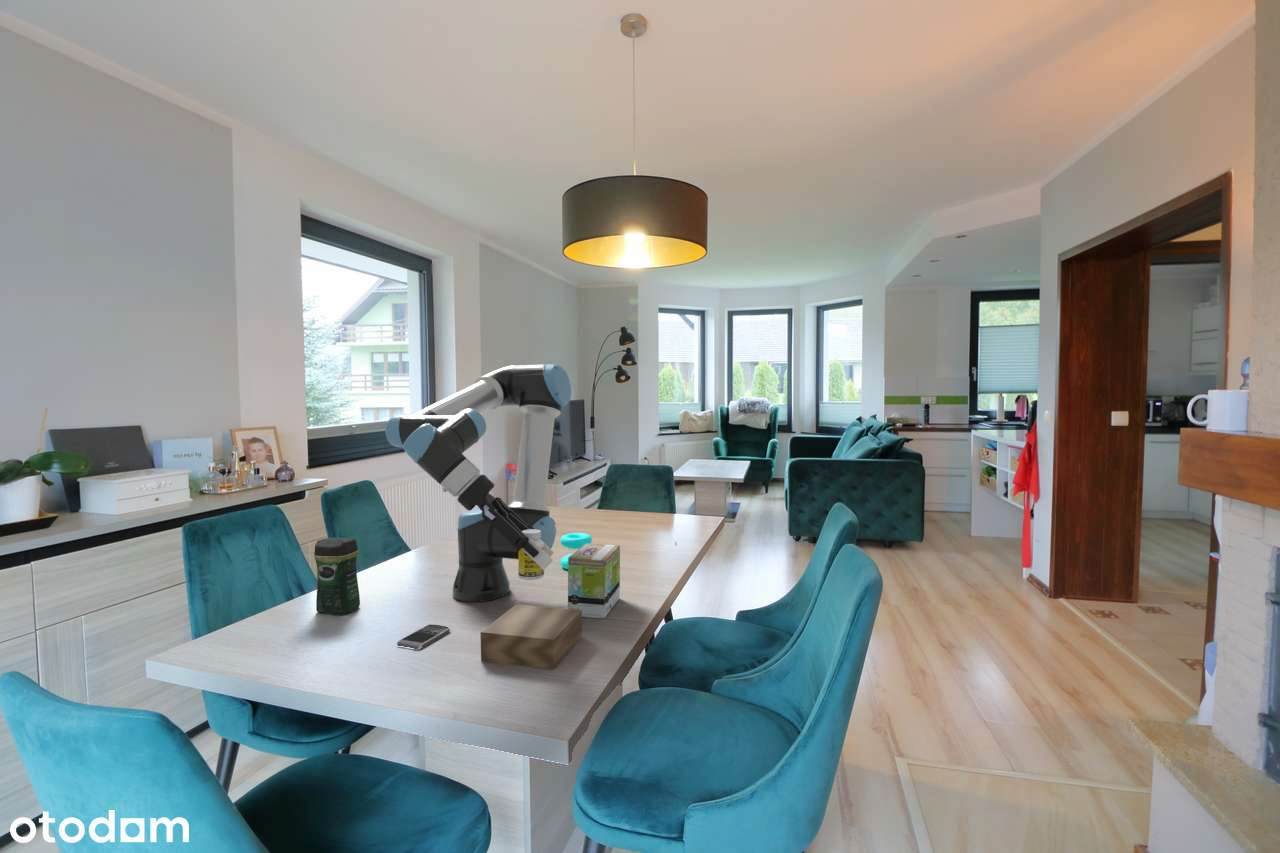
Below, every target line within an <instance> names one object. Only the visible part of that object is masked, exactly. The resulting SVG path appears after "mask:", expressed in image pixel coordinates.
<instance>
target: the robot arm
mask: <svg viewBox="0 0 1280 853" xmlns="http://www.w3.org/2000/svg"><path fill="white" fill-rule="evenodd" d="M571 396H572V387H571V381H570V378H569V375H568V373H567V371H566V370H565V368H564V367H563V366H561V365H559V364H553V363H552V364H551V363H550V364H549V363H544V364H543V363H542V364H541V363H540V364H537V363H536V364H512V365H508V366H504V367H501V368H499V369H495V370H493V371H491V372H489V373H487V374H484V375H482V376H480V377H478V378H477V379H476V380H474V382H473V384H472V385H470V386H467V387H465V388H463V389H462V390H460V391H457V392H456V393H453V394H451V395H450V396H447V397H445V398H443V399H441V400H439V401H436V402H435V403H433V404H431V405H428V406H427V407H424V408H422V409H420V410H419V411H418V410H417V411H415V412H413V413H412V414H407V415H406V414H398V415H394V416H392V417H391V418H389V420H388V421H387V423H386V425H385V431H384V432H385V436H386V440H387V441H388V443H389V444H390V445H391V446H393V447H396V448H402V449H403V451H404V452H405V453H406V454H407V455H408V456H409V458H411V459H412V460H413V462H414V463H415V464H417V466H419V468H421V469H422V470H423V471H424V472H426V473H427V474H428V475H429V477H431V478H432V479H433V480H435V481H436V482H437V483H438V484H439V485H441V487H442V490H441V491H442V492H443V493H446V492H447V493H448V494H450V496H452V497H454V498H455V497H457V499H456V500H457V502H458V503H459V505H461V506H462V507H464V509H466V511H464V512H463V513H461V514H460V515H459V516H458V522H457V530H456V531H457V540H458V541H457V542H458V544H457V546H458V548H457V549H458V569H457V572H456V576H455V579H454V582H453V585H452V597H453V598H454V599H455V600H457V601H461V602H468V603H469V602H471V603H477V602H487V601H492V600H493V601H494V600H496V599H499V598H503V597H505V596H506V595H507V594H508V593H510V590H511V589H510V588H511V587H510V580H509V577H508V574H507V572H506V569H505V566H504V561H503V559H509V560H518V561H519V554H518V551H519V550H520V549H522V550H523V551H524V552H525V553H526V554H527V555H528V556H529V557H530V558H531V559H532V560H533V561H535V562H536V563H537V564H538V565H539V566H540V567H541V568H542V569H543V570H544V571H545V570H546V569H547V568H548V566H550V564H552V562H553V561H554V559H553V558H552V556H553V555H554V553H555V551H553V550H552V548H553V546H554V543H555V541H556V540H555V539H556V534H557V527H556V522H555V519H553V517H551V516H550V509H549V508H548V507H547V505H546V496H547V489H548V488H547V487H548V482H549V470H550V463H551V462H550V461H551V453H552V442H553V435H554V427H555V419H556V418H557V417H559V416H560V415H561V413H562V407H564V406H566V405H568V404H569V403H570V401H571V398H572V397H571ZM503 406H505V407H506V406H518V409H519V411H520V412H521V413H522V415H523V418H522V426H521V434H520V439H519V440H520V441H519V442H520V443H519V451H518V458H517V467H516V471H515V472H516V473H515V481H514V489H513V496H512V500H511V503H509V504H508V505H507V504H506V502H504V501H503V500H502V498H501V497H499V496H498V497H494V496H493V495H492V494H491V493H490V492H491V491H492V490H493V489H494V488H495V483H494V482H493V481H491V480H490V479H489V478H488V477H487V476H486V475H485V474H480V473H481V470H480V469H479V468H478V467H477V466H476V465H475V464H474V463H473V462H471V460H470V459H468V457H466V456H465V455H464V453H465V451H467V450H469V449H470V448H471V447H472V446H473V445H475V444H477V443H478V442H479V440H480V439H481V438H482V437H483V436H484V435H485V433H486V431H487V423H486V419H485V418H484V417H483V415H482V414H481V413H484V411H486V410H496V409H497V408H500V407H503ZM476 506H477V507H478V508H477V509H475V507H476ZM528 529H537V530H540V531H541V538H540V540H541V541H543V542H544V551H543V550H542V549H541V548H540V547H539V546H538V545H537V544H536V543H535V542H534V541H533V540H532V539H530V540H529V538H528V537H526V536H525V534H524V533H523V532H522V531H524V530H528Z"/></svg>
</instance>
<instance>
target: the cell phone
mask: <svg viewBox="0 0 1280 853" xmlns="http://www.w3.org/2000/svg"><path fill="white" fill-rule="evenodd" d="M450 630H451V628H450V627H449V626H445V625H440V624H428V625H424V626H423V627H421V628H420V629H418V630H416V631H414V632H412V633H410V634H409V635H406V636H405V637H403V638H401V639H400V640H398V641H397V643H396V646H397V645H398V646H404V647H410V648H414V649H419V648H421V647H423V646H425V645H426V646H428V645H430V644H431V643H433V642H435V641H436V639H437V640H439V639H440V638H441V636H442V637H444V636H445V635H446V633H447V634H448V633H450ZM439 637H440V638H439ZM434 640H435V641H434ZM432 641H433V642H432ZM430 642H431V643H430ZM429 643H430V644H429ZM427 644H428V645H427ZM398 646H397V647H398ZM426 646H425V647H426ZM423 648H424V647H423ZM421 649H422V648H421ZM419 650H420V649H419Z"/></svg>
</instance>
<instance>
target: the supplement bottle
mask: <svg viewBox="0 0 1280 853" xmlns="http://www.w3.org/2000/svg"><path fill="white" fill-rule="evenodd" d="M522 532H523V533H524V534H525V536H526V537H528V538H529V540H530V539H532V540H533V541H534V542H535V543H536V544H537V545H538V546H539V547H540V548H541V549H542V550H543V551H544V542H543V541H541V540H540V538H541V531H540V530H537V529H528V530H524V531H522ZM518 554H519V560H518V566H517V567H518V568H517V569H518V578H519V579H521V580H524V581H525V580H526V581H534V580H539V579H542V578H543V577H544V576H545V569H544V570H543V569H542V568H541V567H540V566H539V565H538V564H537V563H536V562H535V561H533V560H532V559H531V558H530V557H529V556H528V555H527V554H526V553H525V552H524V551H523V550H522V549H520V550H519V551H518Z"/></svg>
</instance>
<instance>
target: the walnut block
mask: <svg viewBox="0 0 1280 853" xmlns="http://www.w3.org/2000/svg"><path fill="white" fill-rule="evenodd" d="M582 621H583V617H582V610H573V609H568V608H561V607H549V606H547V607H546V606H538V605H527V604H526V605H525V604H517V603H516V604H515V605H514V606H512V607H511V608H509V609H508V610H507V611H506V612H505V613H503V614H501V616H499V617H498V618H497V619H496V620H494V621H493V622H492V623H490V624H489V625H487V626H486V627H485V628H484V629H483V630H481V631H480V661H481V662H487V663H494V664H495V663H498V664H505V665H511V666H512V665H513V666H521V667H528V668H529V667H530V668H537V669H545V670H546V669H547V670H555V669H556V668H557V667H558V666H559V664H560V663H561V662H562V661H563V660H564V659H565V657H566V656H567V655H568V654H569V652H570V651H572V649H573V648H574V646H576V644H578V642H579V641H580V639H581V638H582V637H583V624H582Z"/></svg>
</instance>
